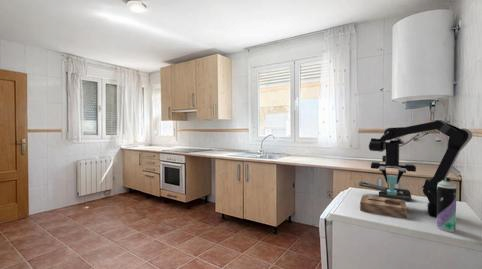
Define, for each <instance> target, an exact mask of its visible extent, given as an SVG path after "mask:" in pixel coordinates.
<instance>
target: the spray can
mask: <svg viewBox="0 0 482 269" xmlns="http://www.w3.org/2000/svg"><path fill="white" fill-rule="evenodd" d="M456 218H457V184H456V183H454V182H452V180H451V177H447V178H446V177H444V179H443V180H442V181H441V182H438V184H437V217H436V228H437V229H439V230H441V231H444V232H447V233H455V232H456V229H457V228H456V226H457V225H456V224H457V219H456Z"/></svg>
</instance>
